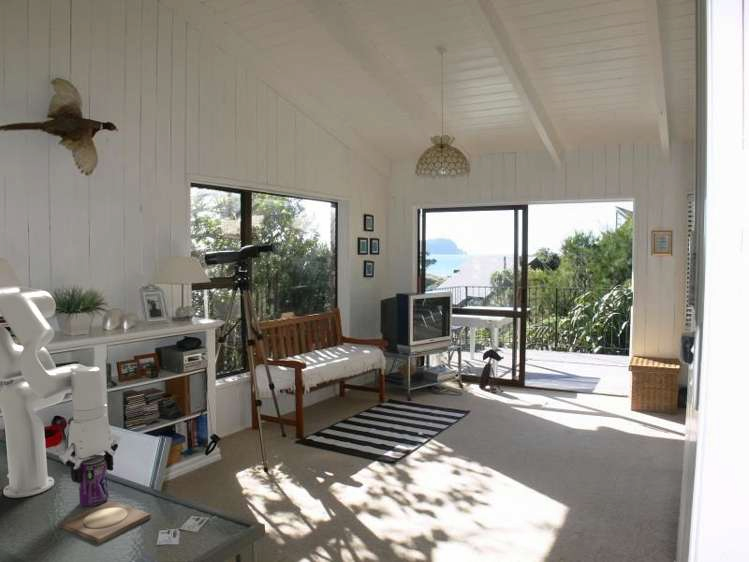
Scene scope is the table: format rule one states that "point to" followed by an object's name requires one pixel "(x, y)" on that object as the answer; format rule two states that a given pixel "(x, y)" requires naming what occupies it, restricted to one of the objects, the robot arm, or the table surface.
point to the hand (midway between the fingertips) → (93, 475)
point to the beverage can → (93, 480)
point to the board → (105, 521)
